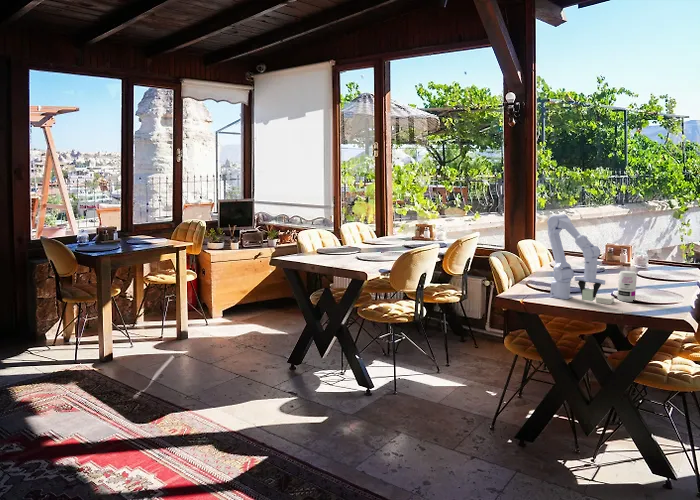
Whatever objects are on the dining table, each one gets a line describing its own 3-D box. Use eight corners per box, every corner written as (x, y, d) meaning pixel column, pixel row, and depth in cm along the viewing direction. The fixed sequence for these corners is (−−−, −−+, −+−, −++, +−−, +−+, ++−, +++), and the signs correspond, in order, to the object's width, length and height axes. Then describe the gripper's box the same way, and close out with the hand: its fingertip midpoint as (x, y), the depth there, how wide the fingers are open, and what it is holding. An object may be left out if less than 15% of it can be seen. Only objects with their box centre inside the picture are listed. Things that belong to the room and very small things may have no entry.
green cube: (581, 299, 292) (582, 290, 291) (585, 297, 296) (585, 288, 295) (592, 301, 289) (592, 291, 288) (595, 299, 293) (595, 289, 292)
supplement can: (629, 298, 303) (631, 270, 300) (637, 302, 295) (639, 273, 292) (614, 298, 303) (616, 270, 300) (622, 302, 294) (624, 273, 292)
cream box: (595, 303, 295) (596, 297, 294) (599, 300, 300) (599, 294, 300) (610, 305, 291) (610, 299, 290) (613, 302, 296) (614, 296, 296)
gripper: (573, 269, 291) (571, 295, 293) (603, 273, 282) (601, 300, 284) (577, 267, 297) (576, 293, 299) (607, 271, 287) (605, 297, 290)
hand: (588, 296), depth 292 cm, fingers closed on green cube, 5 cm apart
